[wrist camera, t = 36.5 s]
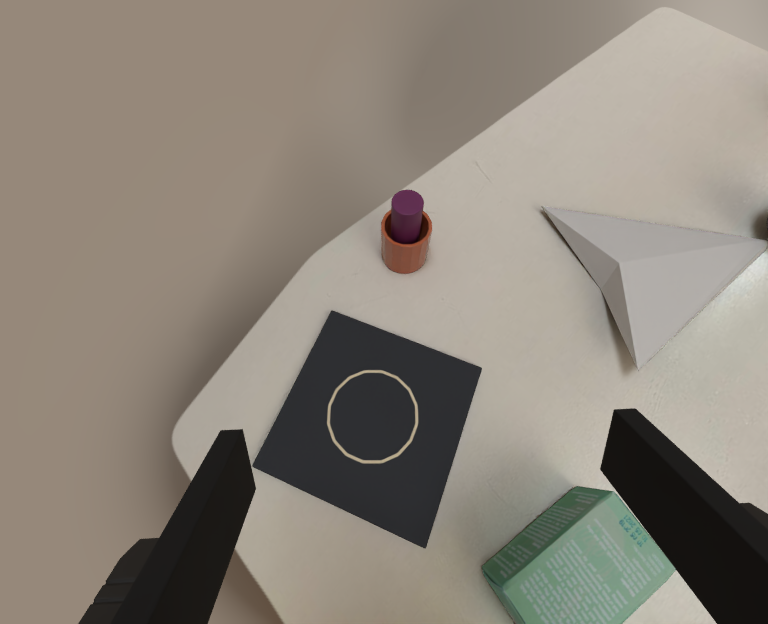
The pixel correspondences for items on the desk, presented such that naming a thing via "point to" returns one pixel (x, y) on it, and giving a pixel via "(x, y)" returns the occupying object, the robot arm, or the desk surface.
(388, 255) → the pen pot
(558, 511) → the box
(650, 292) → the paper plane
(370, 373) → the felt pad
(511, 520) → the desk surface
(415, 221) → the cylinder
